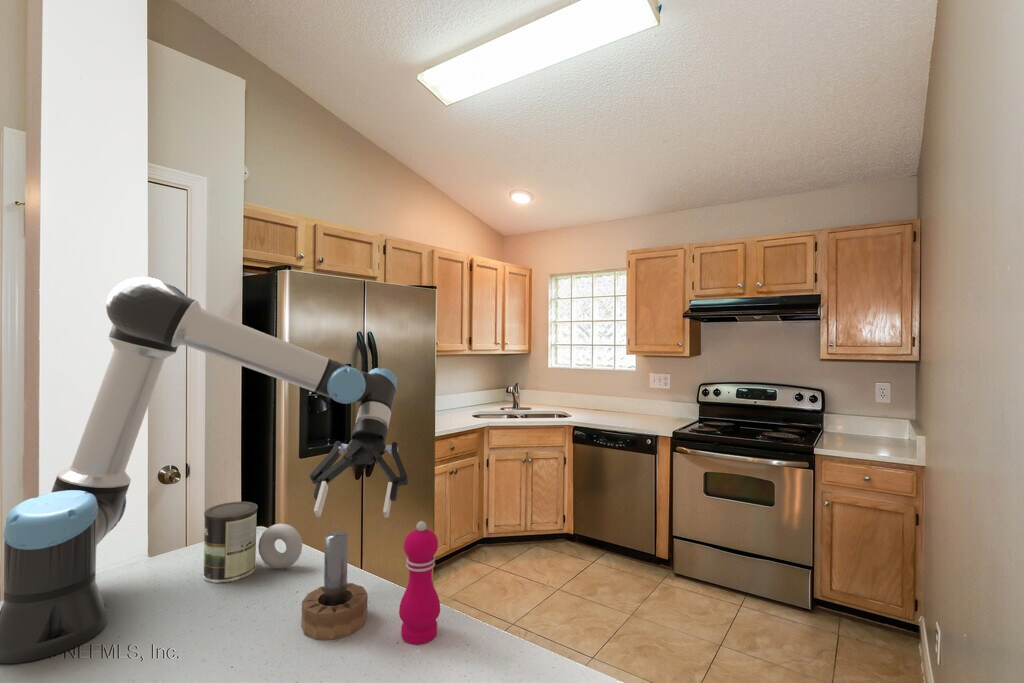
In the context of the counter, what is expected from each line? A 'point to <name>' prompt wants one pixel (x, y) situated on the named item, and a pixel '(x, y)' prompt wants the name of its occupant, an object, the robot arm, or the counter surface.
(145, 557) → the counter surface
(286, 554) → the donut
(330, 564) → the metal cylinder peg
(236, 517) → the coffee can
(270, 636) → the counter surface
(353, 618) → the bead
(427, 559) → the pepper mill
